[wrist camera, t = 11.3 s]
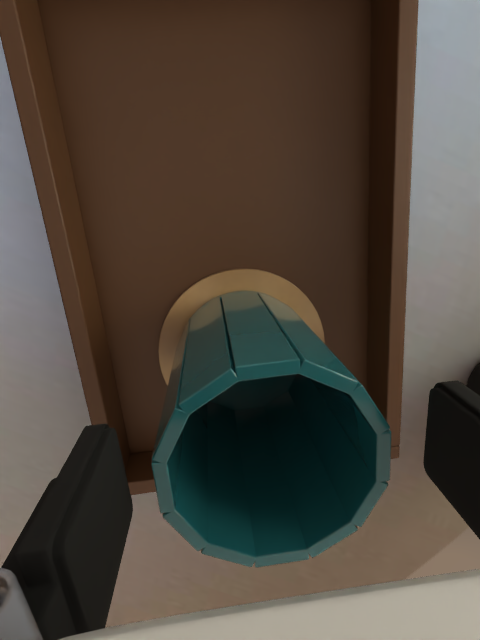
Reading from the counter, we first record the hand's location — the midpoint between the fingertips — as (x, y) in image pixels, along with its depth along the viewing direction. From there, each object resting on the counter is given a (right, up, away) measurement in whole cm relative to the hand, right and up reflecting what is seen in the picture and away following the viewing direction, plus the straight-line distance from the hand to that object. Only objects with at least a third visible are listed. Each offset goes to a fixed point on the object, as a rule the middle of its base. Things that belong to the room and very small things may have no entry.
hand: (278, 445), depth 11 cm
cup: (-1, +2, +9) cm, 9 cm away
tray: (-2, +7, +8) cm, 11 cm away
